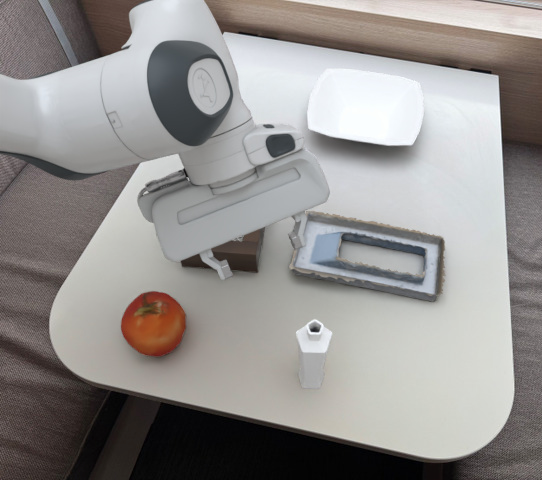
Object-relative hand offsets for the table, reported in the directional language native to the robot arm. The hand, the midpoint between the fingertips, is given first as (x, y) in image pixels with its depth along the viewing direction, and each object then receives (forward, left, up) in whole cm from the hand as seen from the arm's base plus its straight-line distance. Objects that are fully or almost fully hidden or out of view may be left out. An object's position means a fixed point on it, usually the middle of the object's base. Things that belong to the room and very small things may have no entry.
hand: (263, 261), depth 63 cm
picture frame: (+21, -3, -20) cm, 29 cm away
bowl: (+48, +19, -20) cm, 56 cm away
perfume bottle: (-1, -9, -20) cm, 22 cm away
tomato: (-11, +12, -20) cm, 26 cm away
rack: (+12, +21, -20) cm, 32 cm away
